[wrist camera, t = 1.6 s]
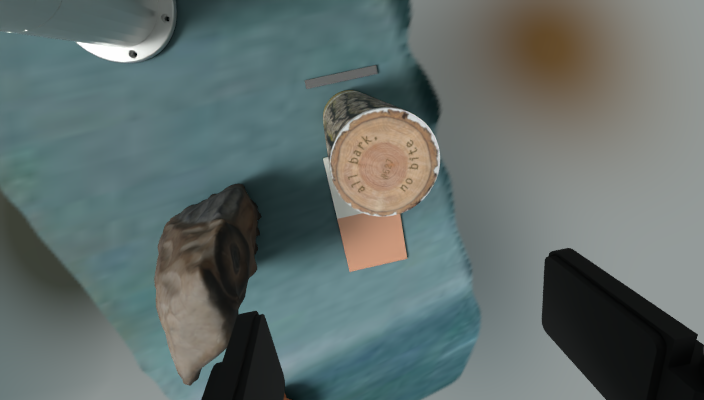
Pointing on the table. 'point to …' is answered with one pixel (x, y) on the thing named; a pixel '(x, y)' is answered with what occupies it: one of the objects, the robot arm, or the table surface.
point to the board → (358, 228)
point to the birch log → (378, 154)
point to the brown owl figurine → (205, 276)
